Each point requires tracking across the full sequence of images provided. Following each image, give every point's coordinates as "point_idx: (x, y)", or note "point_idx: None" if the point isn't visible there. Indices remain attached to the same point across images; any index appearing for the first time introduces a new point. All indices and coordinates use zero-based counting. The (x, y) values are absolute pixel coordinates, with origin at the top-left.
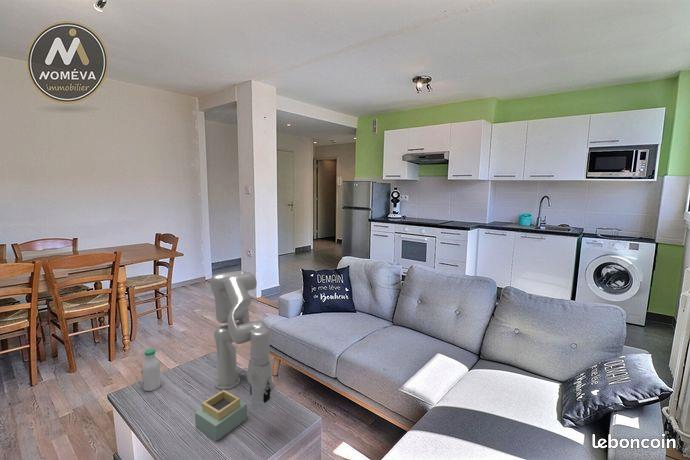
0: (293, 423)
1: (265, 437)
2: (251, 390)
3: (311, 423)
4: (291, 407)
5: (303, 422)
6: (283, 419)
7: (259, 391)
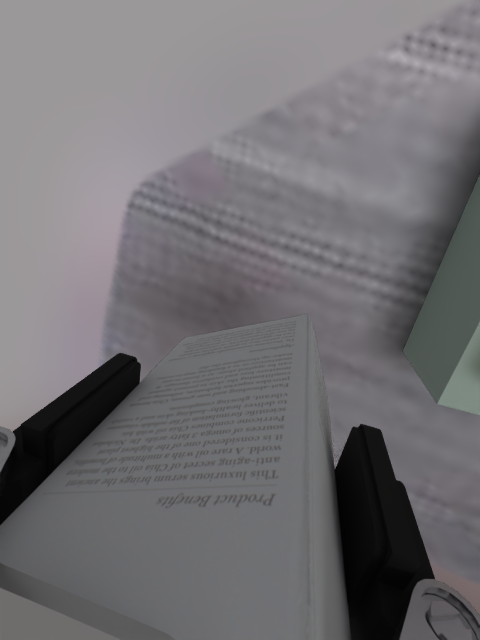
0: None
1: (226, 267)
2: (372, 489)
3: None
4: None
5: None
6: None
7: (137, 472)
